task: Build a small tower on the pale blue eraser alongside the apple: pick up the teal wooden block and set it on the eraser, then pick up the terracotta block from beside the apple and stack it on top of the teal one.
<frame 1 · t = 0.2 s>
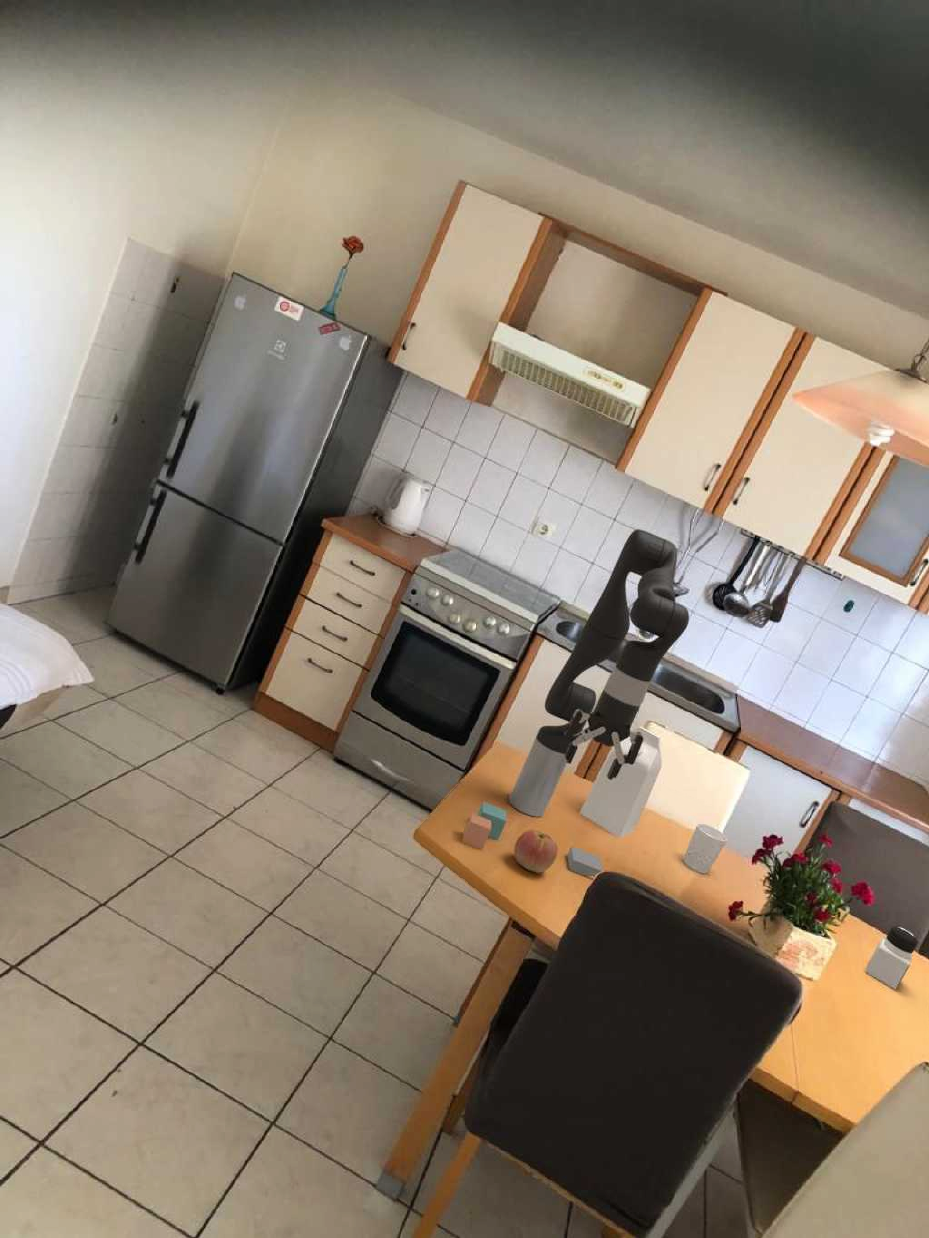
hand: (588, 769, 184), 29 cm above the table, tool pointing down, fingers open, 8 cm apart
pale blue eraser: (582, 868, 212), on the table
milk: (607, 821, 246), on the table
medicine bottle: (881, 976, 221), on the table
brick teal: (486, 830, 211), on the table
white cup: (694, 866, 240), on the table
brick terracotta: (472, 841, 204), on the table
apple: (527, 867, 202), on the table
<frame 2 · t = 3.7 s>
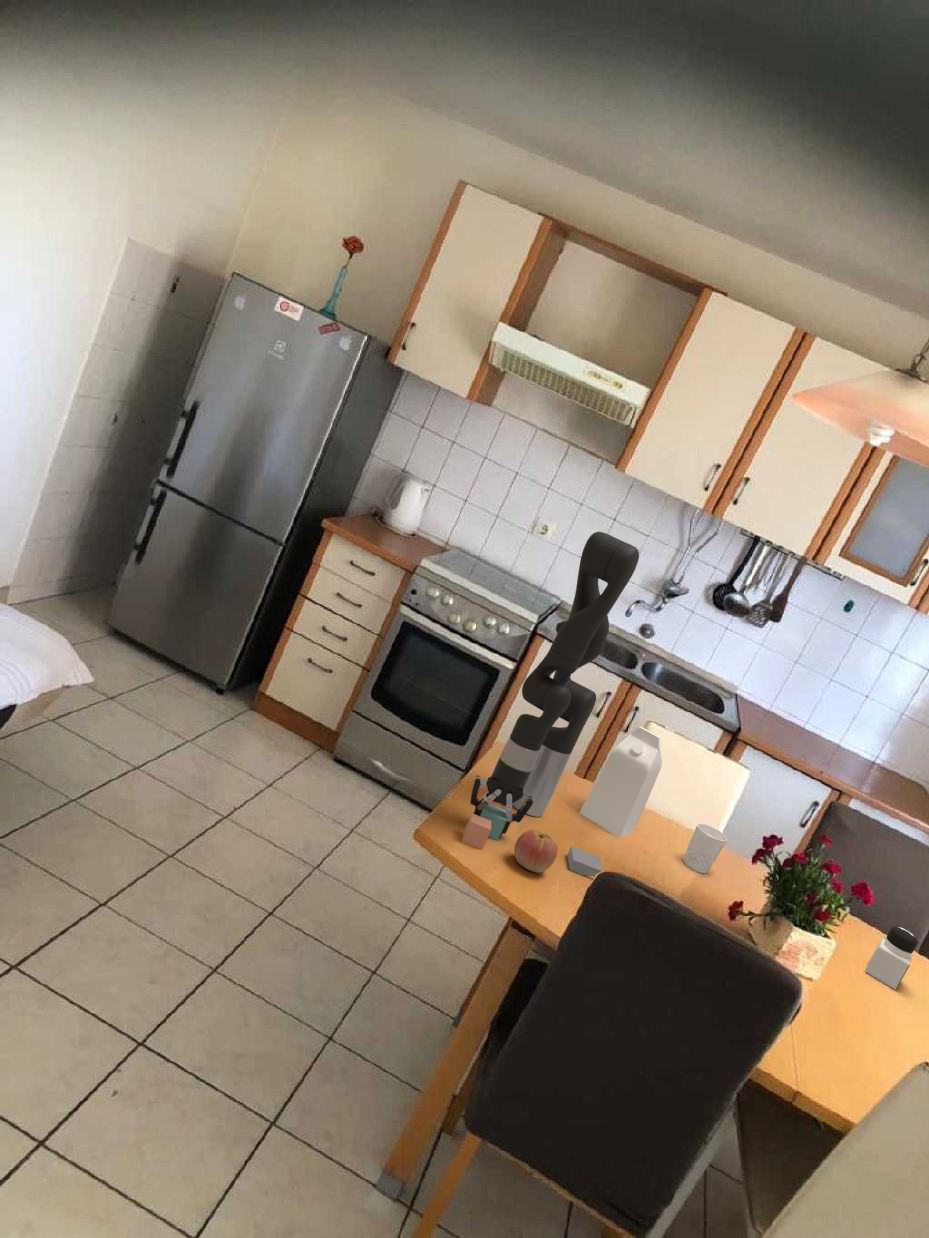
hand: (487, 828, 211), 1 cm above the table, tool pointing down, fingers closed on brick teal, 5 cm apart
brick teal: (486, 830, 211), on the table, touching gripper
everything else where it was.
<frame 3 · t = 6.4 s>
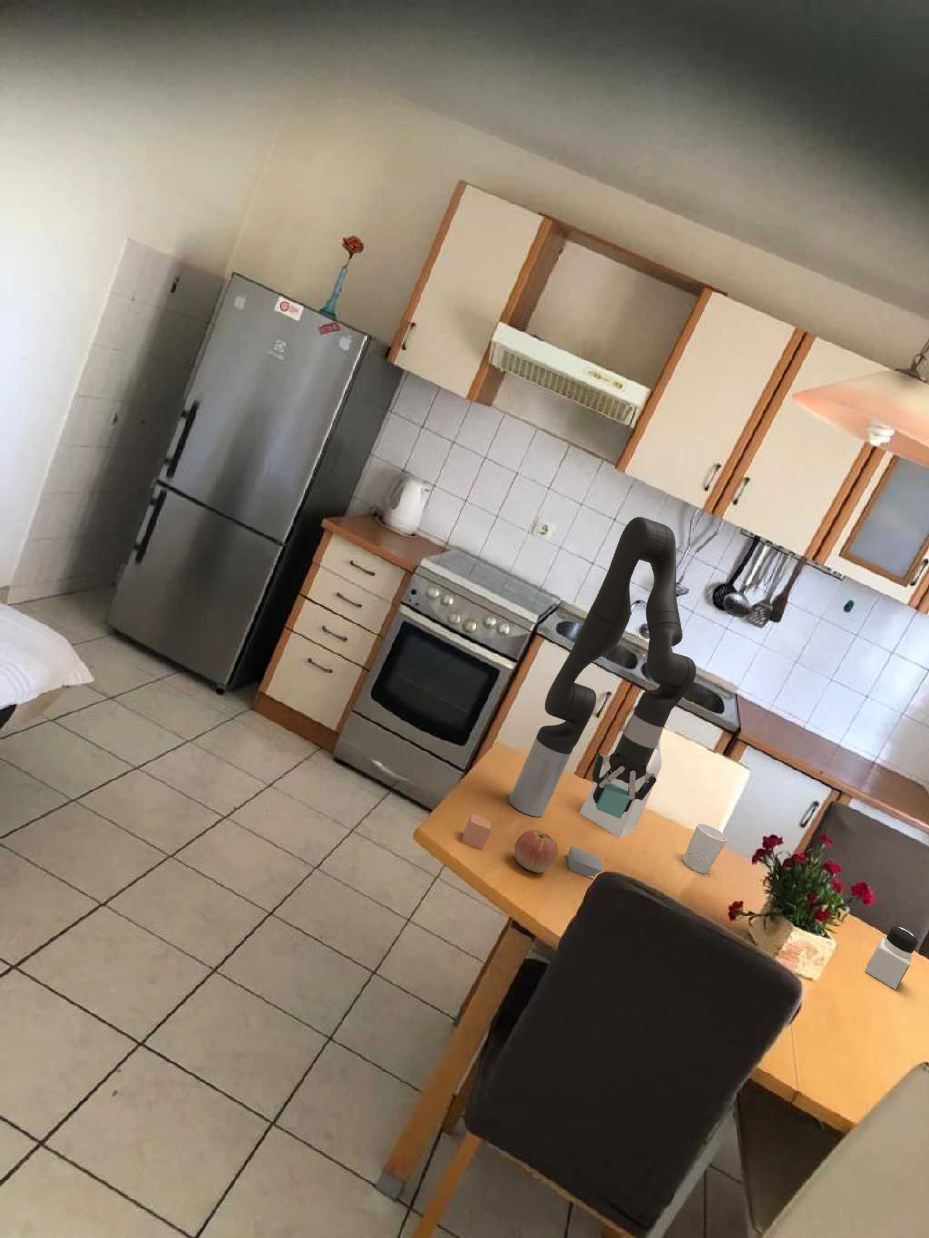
hand: (608, 806, 209), 16 cm above the table, tool pointing down, fingers closed on brick teal, 5 cm apart
brick teal: (607, 809, 209), point 15 cm above the table, touching gripper
everything else where it was.
when the fingers open (4 cm above the table, at t = 9.2 s): brick teal stays where it is, resting on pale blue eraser.
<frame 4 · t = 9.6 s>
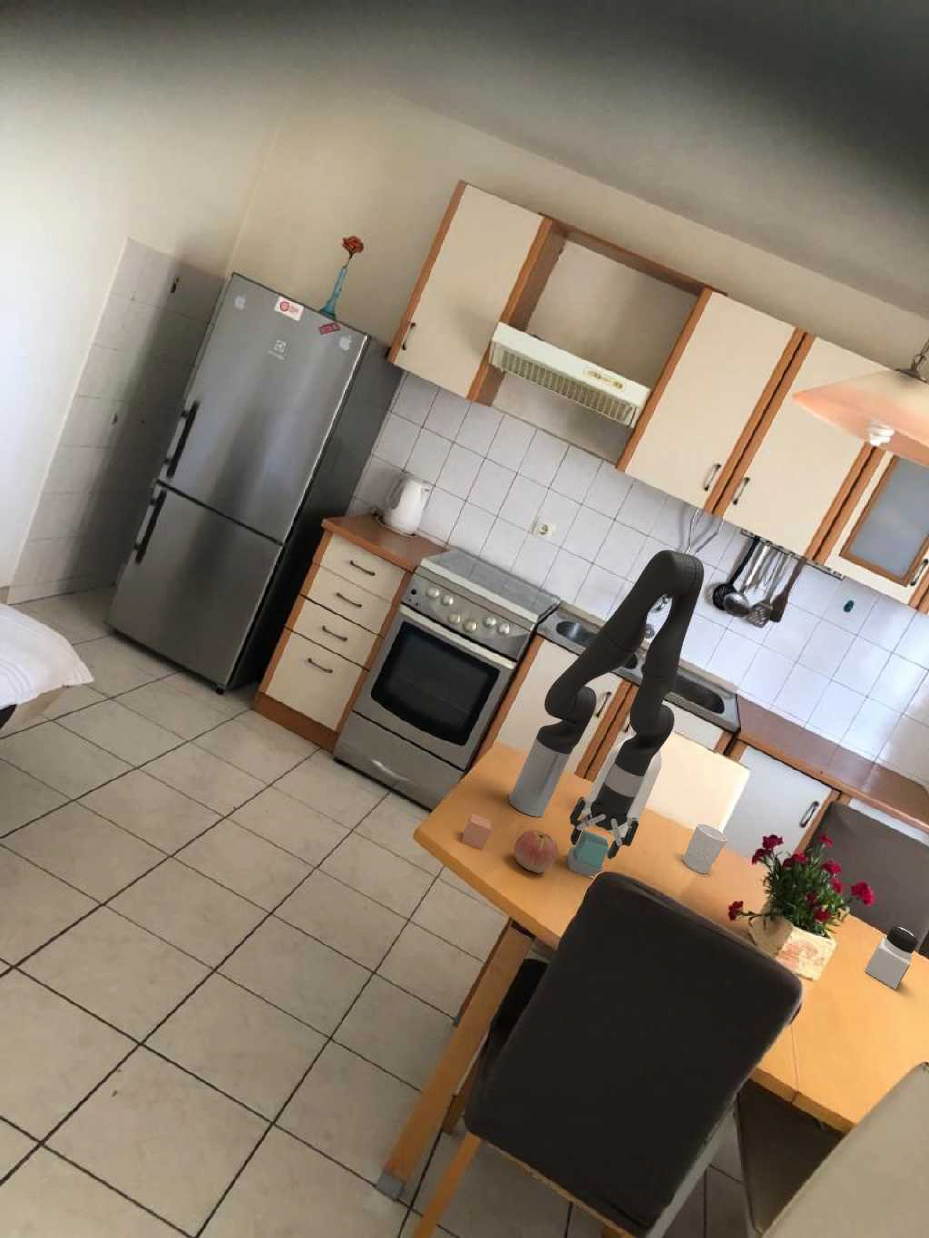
hand: (590, 850, 211), 5 cm above the table, tool pointing down, fingers open, 8 cm apart
brick teal: (587, 858, 212), point 2 cm above the table, touching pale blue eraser
everything else where it was.
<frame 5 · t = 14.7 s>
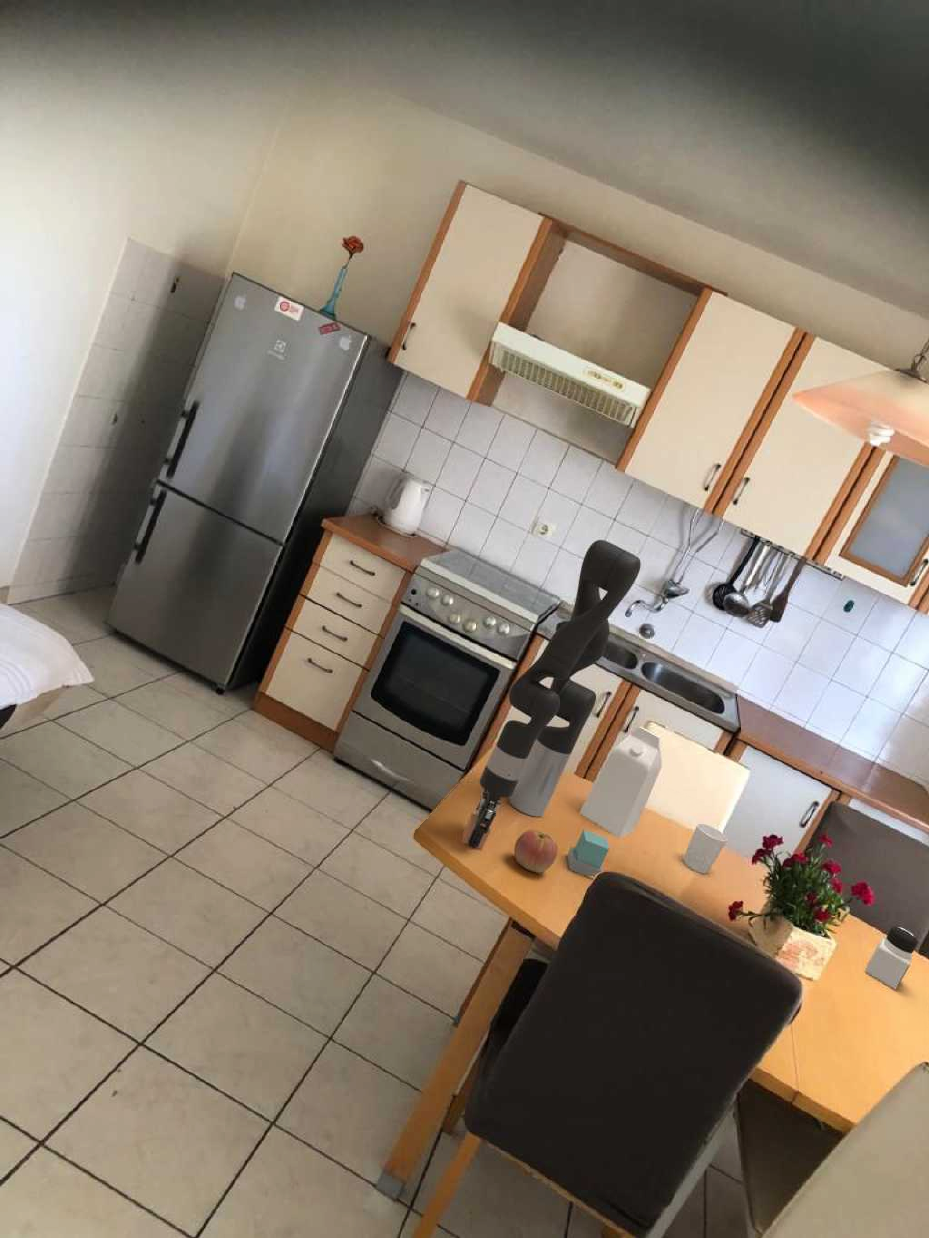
hand: (473, 839, 203), 0 cm above the table, tool pointing down, fingers closed on brick terracotta, 4 cm apart
brick terracotta: (472, 841, 203), on the table, touching gripper
everything else where it was.
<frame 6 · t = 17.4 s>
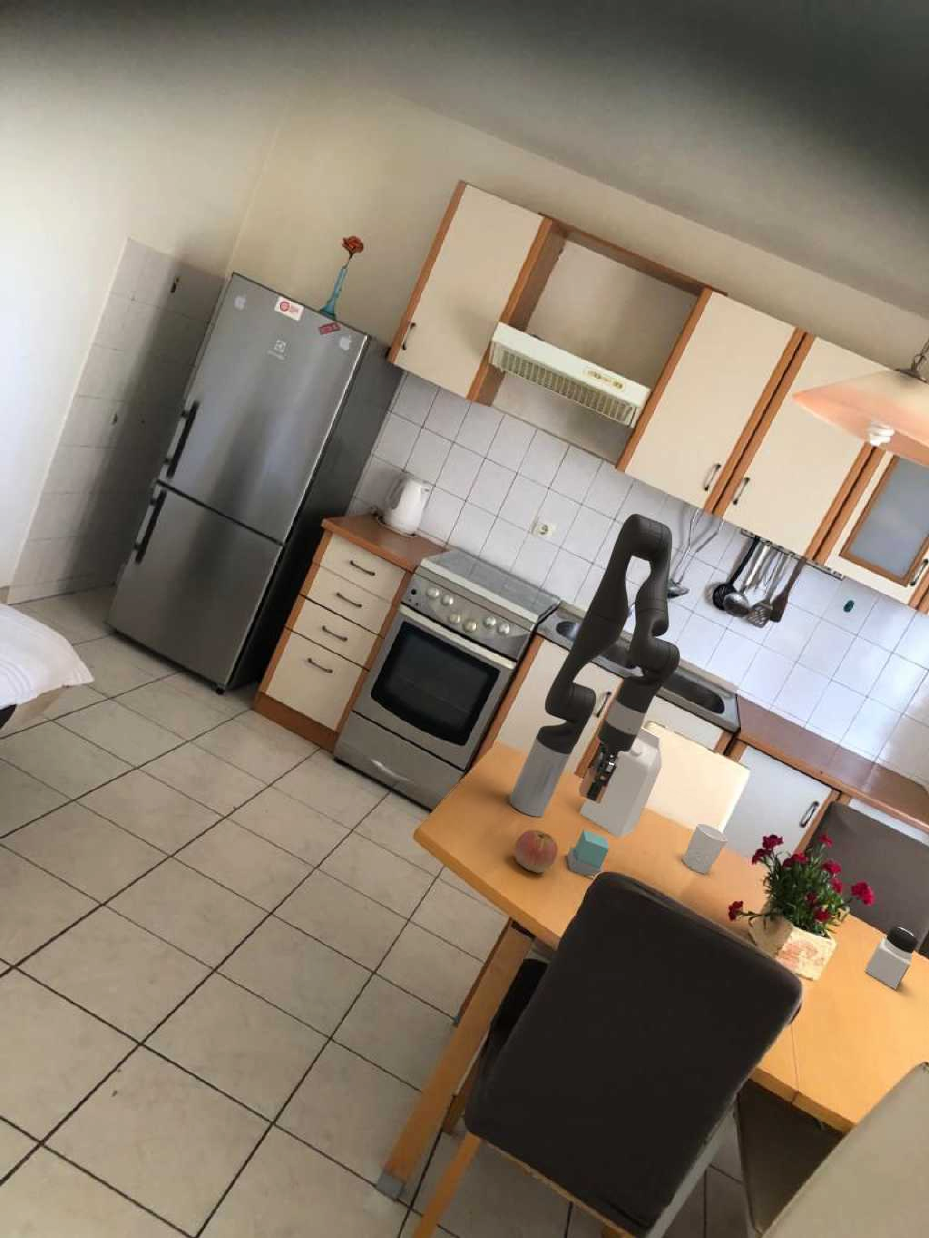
hand: (590, 793, 207), 17 cm above the table, tool pointing down, fingers closed on brick terracotta, 4 cm apart
brick terracotta: (589, 795, 207), point 17 cm above the table, touching gripper
everything else where it was.
when the fingers open (9 cm above the table, at t = 20.4 s): brick terracotta stays where it is, resting on brick teal.
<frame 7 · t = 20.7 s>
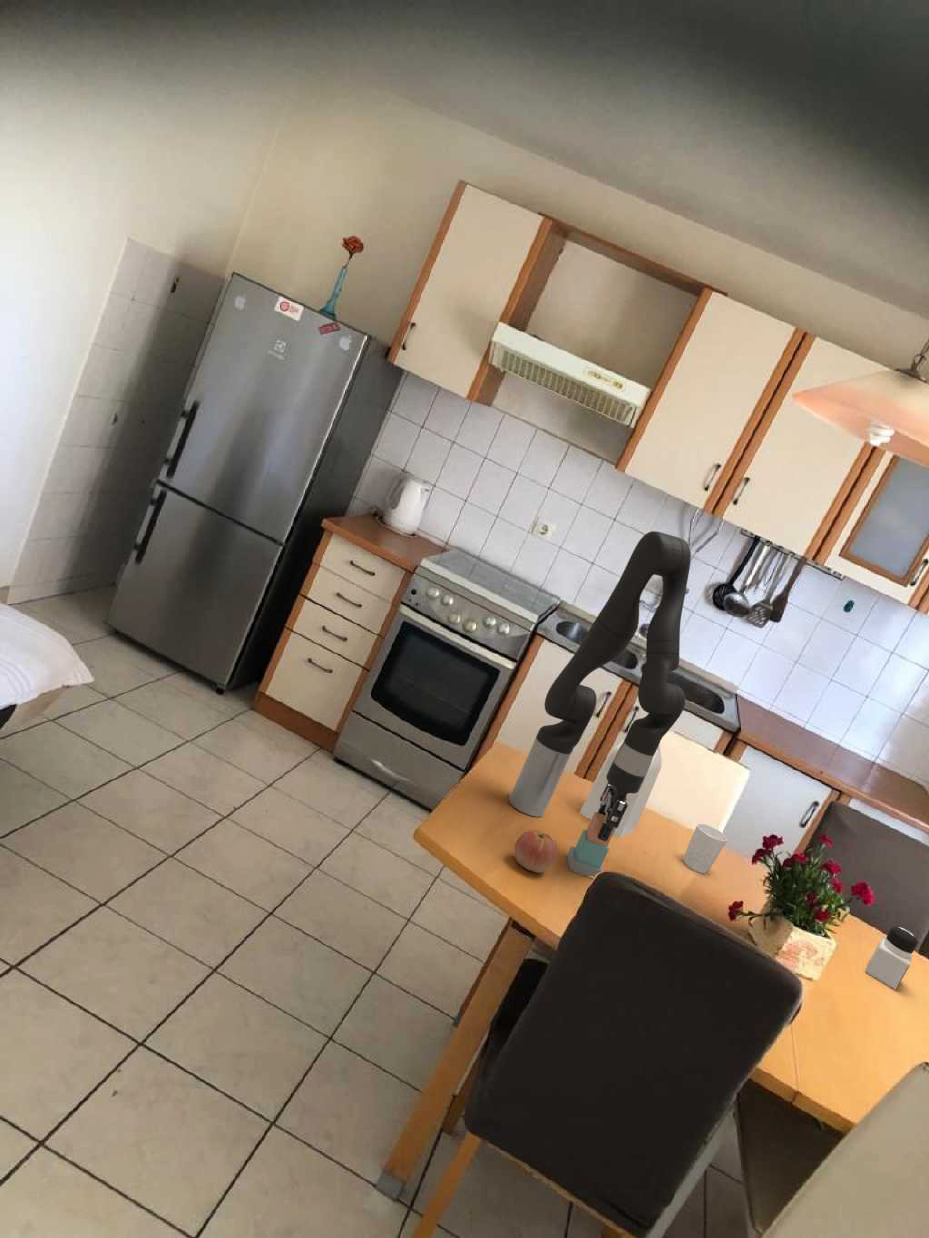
hand: (599, 831, 210), 9 cm above the table, tool pointing down, fingers open, 7 cm apart
brick teal: (587, 858, 212), point 2 cm above the table, touching brick terracotta, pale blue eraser
brick terracotta: (596, 839, 211), point 7 cm above the table, touching brick teal
everything else where it was.
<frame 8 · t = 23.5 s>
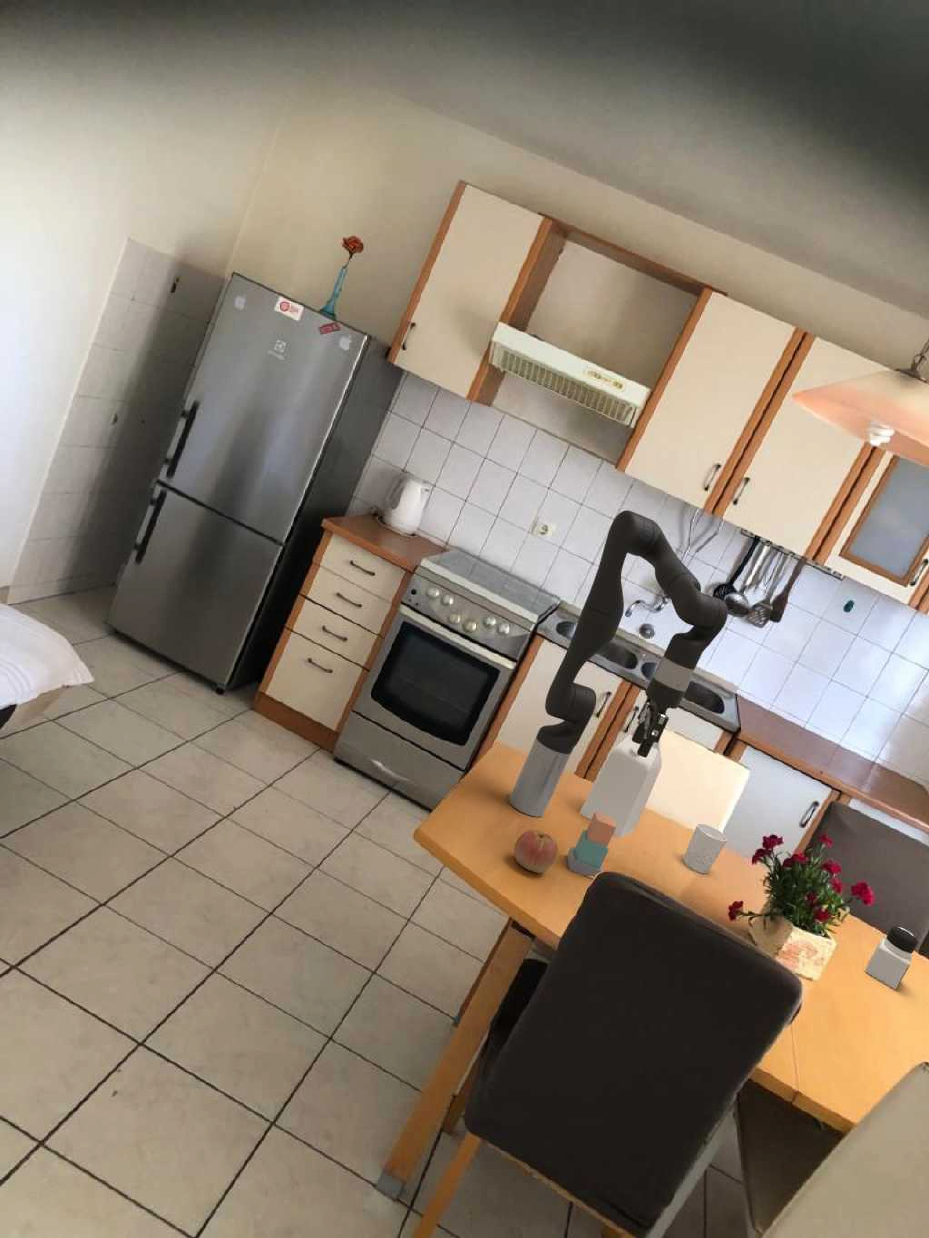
hand: (638, 748, 206), 30 cm above the table, tool pointing down, fingers open, 8 cm apart
nothing on the table moved.
at the end: brick teal 0.1 cm off-centre on the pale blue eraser, point 2.5 cm above the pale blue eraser's base; brick terracotta 0.1 cm off-centre on the brick teal, point 5.0 cm above the brick teal's base; brick terracotta tilted 0° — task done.
